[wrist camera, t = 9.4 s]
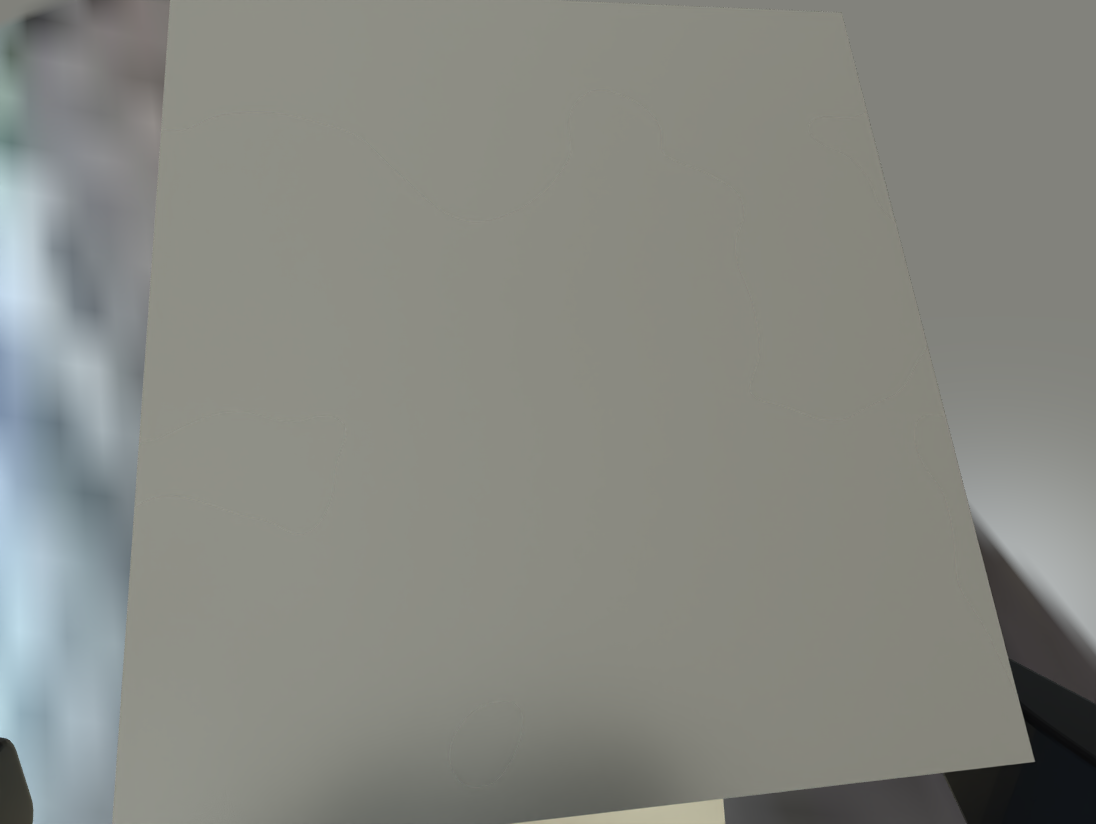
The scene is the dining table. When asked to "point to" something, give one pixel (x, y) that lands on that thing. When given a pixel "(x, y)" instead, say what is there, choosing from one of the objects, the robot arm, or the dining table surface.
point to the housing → (536, 426)
